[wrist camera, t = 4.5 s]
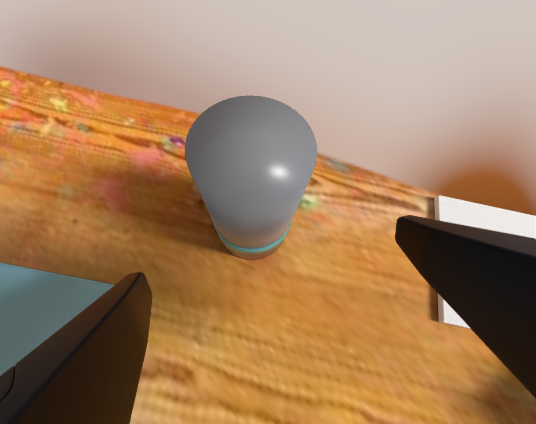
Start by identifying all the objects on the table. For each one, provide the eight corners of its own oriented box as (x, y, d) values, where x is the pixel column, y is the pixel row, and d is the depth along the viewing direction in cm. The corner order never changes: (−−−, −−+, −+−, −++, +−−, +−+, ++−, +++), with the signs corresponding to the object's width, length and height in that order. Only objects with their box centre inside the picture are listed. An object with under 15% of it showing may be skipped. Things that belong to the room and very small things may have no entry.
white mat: (579, 354, 19) (589, 355, 18) (438, 322, 19) (444, 322, 18) (551, 223, 23) (558, 220, 22) (434, 198, 23) (438, 195, 22)
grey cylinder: (237, 274, 20) (221, 233, 9) (206, 213, 21) (162, 122, 11) (299, 239, 21) (344, 169, 11) (265, 184, 22) (275, 79, 12)
